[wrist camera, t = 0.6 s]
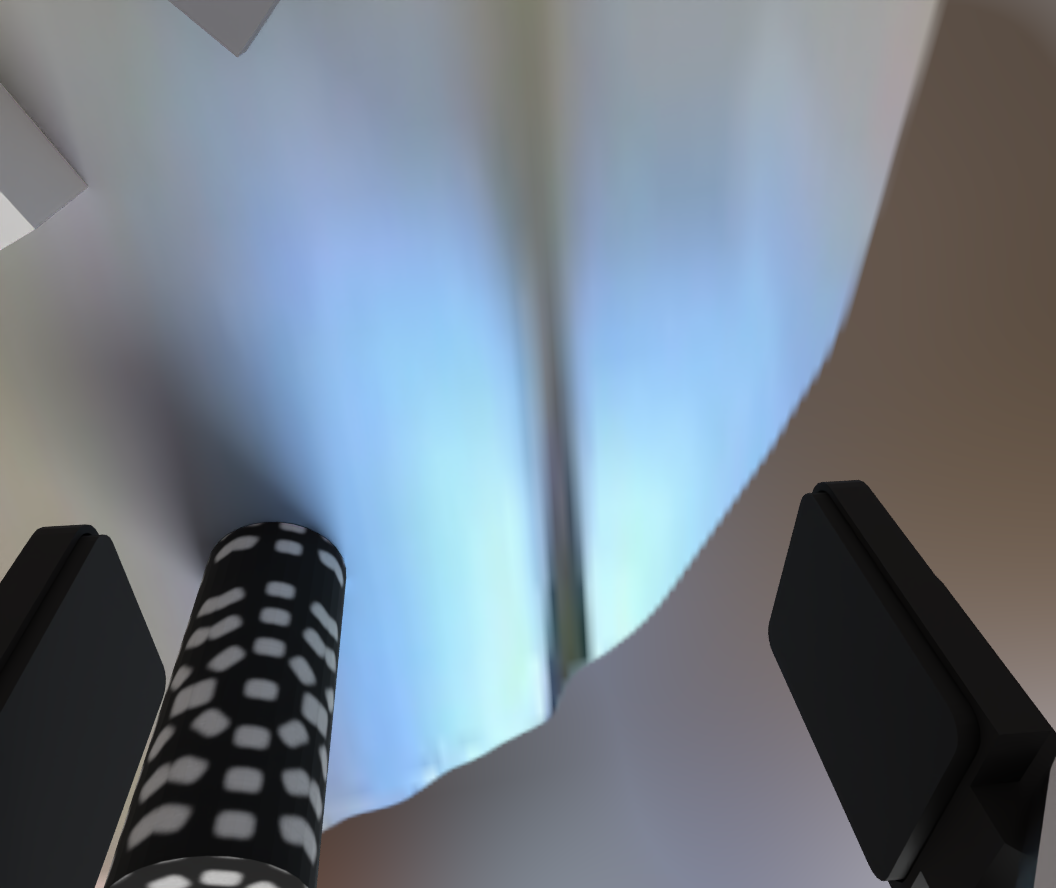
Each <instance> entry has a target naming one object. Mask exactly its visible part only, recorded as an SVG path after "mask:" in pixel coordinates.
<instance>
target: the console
mask: <svg viewBox="0 0 1056 888" xmlns="http://www.w3.org/2000/svg"><path fill="white" fill-rule="evenodd" d="M169 1H170V2H171V3H172V4H173V5H175V6H176V7H177V8H178V9H179V10H181V11H182V12H183V13H184V14H185V15H187V16H188V17H189V18H190V19H192V20H193V21H194V22H195V23H196V24H198V25H199V26H200V27H201V28H202V29H204V30H205V31H206V32H207V33H208V34H210V35H211V36H212V37H213V38H214V39H216V40H217V41H218V42H219V43H221V44H222V45H223V46H224V47H225V48H227V49H228V50H229V51H230V52H231V53H233V54H234V55H235V56H236V57H239V56H240V55H241V54H243V53H244V52H246V51H247V49H248V48H249V46H250V45H251V43H252V42H253V40H254V39H255V37H256V36H257V34H258V33H259V31H260V30H261V28H262V27H263V25H264V24H265V22H266V21H267V19H268V18H269V16H270V15H271V13H272V12H273V10H274V9H275V7H276V5H277V4H278V2H279V1H280V0H169Z"/></svg>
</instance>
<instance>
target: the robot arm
mask: <svg viewBox="0 0 1056 888" xmlns="http://www.w3.org/2000/svg"><path fill="white" fill-rule="evenodd" d="M768 635H769V642H770V646H771V649H772V651H773V654H774V656H775V658H776V661H777V663H778V665H779V667H780V669H781V672H782V674H783V676H784V678H785V680H786V683H787V685H788V687H789V689H790V692H791V694H792V696H793V698H794V700H795V703H796V705H797V707H798V709H799V711H800V714H801V716H802V718H803V720H804V723H805V725H806V727H807V729H808V731H809V733H810V736H811V738H812V740H813V742H814V745H815V747H816V749H817V751H818V753H819V756H820V758H821V760H822V762H823V765H824V767H825V769H826V771H827V773H828V776H829V778H830V780H831V782H832V784H833V787H834V789H835V791H836V793H837V795H838V798H839V800H840V802H841V804H842V807H843V809H844V811H845V813H846V815H847V818H848V820H849V822H850V824H851V827H852V829H853V831H854V833H855V835H856V838H857V840H858V842H859V844H860V846H861V849H862V851H863V853H864V855H865V857H866V860H867V862H868V864H869V866H870V868H871V870H872V872H873V873H874V874H875V876H876V877H877V878H878V879H880V880H881V881H888V882H889V884H890V886H891V888H1056V732H1055V731H1054V729H1053V728H1052V727H1051V725H1050V724H1049V723H1048V722H1047V720H1046V719H1045V718H1044V716H1043V715H1042V714H1041V712H1040V711H1039V710H1038V708H1037V707H1036V706H1035V704H1034V703H1033V702H1032V700H1031V699H1030V698H1029V696H1028V695H1027V694H1026V693H1025V691H1024V690H1023V689H1022V687H1021V686H1020V684H1019V683H1018V682H1017V680H1016V679H1015V678H1014V677H1013V675H1012V674H1011V673H1010V671H1009V670H1008V669H1007V667H1006V666H1005V665H1004V663H1003V662H1002V661H1001V659H1000V658H999V657H998V656H997V654H996V653H995V651H994V650H993V649H992V648H991V646H990V645H989V643H988V642H987V641H986V639H985V638H984V637H983V635H982V634H981V633H980V632H979V630H978V629H977V628H976V626H975V625H974V624H973V622H972V621H971V620H970V618H969V617H968V616H967V614H966V613H965V612H964V610H963V609H962V608H961V606H960V605H959V604H958V602H957V601H956V600H955V598H954V597H953V596H952V594H951V593H950V592H949V590H948V589H947V588H946V587H945V585H944V584H943V583H942V582H941V581H940V580H939V579H938V578H937V577H936V576H935V574H934V573H933V572H932V570H931V569H930V568H929V566H928V565H927V564H926V562H925V561H924V560H923V558H922V557H921V556H920V554H919V553H918V552H917V550H916V549H915V548H914V546H913V545H912V544H911V542H910V541H909V540H908V538H907V537H906V536H905V535H904V533H903V532H902V530H901V529H900V528H899V527H898V525H897V524H896V522H895V521H894V520H893V518H891V516H890V515H889V513H888V512H887V511H886V509H885V508H884V507H883V505H882V504H881V503H880V501H879V500H878V499H877V497H876V496H875V495H874V493H873V492H872V491H871V489H870V488H869V487H868V486H867V485H866V484H865V483H864V482H862V481H860V480H851V481H834V482H821V483H818V484H817V485H816V486H815V487H814V489H813V492H812V493H807V494H805V495H804V496H803V497H802V500H801V503H800V506H799V510H798V514H797V518H796V522H795V526H794V530H793V533H792V537H791V541H790V546H789V549H788V553H787V557H786V560H785V564H784V568H783V572H782V575H781V579H780V584H779V587H778V591H777V595H776V598H775V603H774V606H773V610H772V614H771V618H770V621H769V627H768ZM165 685H166V676H165V670H164V666H163V664H162V661H161V659H160V656H159V654H158V652H157V649H156V647H155V644H154V642H153V639H152V637H151V635H150V632H149V630H148V627H147V625H146V622H145V620H144V617H143V615H142V613H141V610H140V608H139V605H138V603H137V600H136V598H135V596H134V593H133V591H132V588H131V586H130V583H129V581H128V578H127V576H126V574H125V571H124V569H123V566H122V564H121V561H120V559H119V556H118V554H117V552H116V549H115V547H114V544H113V542H112V540H111V539H110V537H108V536H107V535H99V534H98V532H97V531H96V529H95V528H94V527H92V526H91V525H69V526H51V527H42V528H40V529H37V530H36V531H35V533H34V534H33V535H32V536H31V538H30V539H29V541H28V542H27V544H26V545H25V547H24V548H23V550H22V551H21V553H20V554H19V556H18V557H17V559H16V560H15V562H14V563H13V565H12V566H11V568H10V569H9V571H8V572H7V574H6V575H5V577H4V578H3V580H2V581H1V583H0V888H95V885H96V882H97V880H98V877H99V874H100V871H101V868H102V866H103V863H104V860H105V857H106V855H107V852H108V849H109V846H110V843H111V841H112V838H113V835H114V832H115V829H116V827H117V824H118V821H119V818H120V816H121V813H122V810H123V807H124V804H125V802H126V799H127V796H128V793H129V790H130V788H131V785H132V782H133V779H134V777H135V774H136V771H137V768H138V765H139V763H140V760H141V757H142V754H143V752H144V749H145V746H146V743H147V740H148V738H149V735H150V732H151V729H152V726H153V724H154V721H155V718H156V715H157V713H158V710H159V707H160V704H161V701H162V699H163V695H164V692H165Z"/></svg>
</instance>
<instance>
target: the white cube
mask: <svg viewBox="0 0 1056 888" xmlns="http://www.w3.org/2000/svg"><path fill="white" fill-rule="evenodd" d="M87 188H88V186H87V184H86V183H85V182H84V181H83V180H82V179H81V177H80V176H79V175H78V174H77V173H76V171H75V170H74V169H73V168H72V167H71V166H70V164H69V163H68V162H67V161H66V160H65V158H64V157H63V156H62V155H61V154H60V153H59V151H58V150H57V149H56V148H55V147H54V145H53V144H52V143H51V142H50V141H49V139H48V138H47V137H46V136H45V135H44V134H43V132H42V131H41V130H40V129H39V128H38V126H37V125H36V124H35V123H34V122H33V121H32V119H31V118H30V117H29V116H28V115H27V113H26V112H25V111H24V110H23V109H22V108H21V106H20V105H19V104H18V103H17V102H16V100H15V99H14V98H13V97H12V96H11V95H10V93H9V92H8V91H7V90H6V89H5V87H4V86H3V85H2V84H1V83H0V250H2V249H3V248H5V247H7V246H8V245H10V244H12V243H13V242H15V241H16V240H18V239H20V238H21V237H23V236H25V235H26V234H28V233H30V232H31V231H33V230H35V229H36V228H37V227H39V226H40V225H41V224H42V223H44V222H45V221H46V220H47V219H49V218H50V217H51V216H53V215H54V214H55V213H56V212H58V211H59V210H60V209H61V208H63V207H64V206H65V205H67V204H68V203H69V202H70V201H72V200H73V199H74V198H75V197H77V196H78V195H79V194H80V193H82V192H83V191H84V190H86V189H87Z"/></svg>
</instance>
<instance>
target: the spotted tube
mask: <svg viewBox="0 0 1056 888" xmlns="http://www.w3.org/2000/svg"><path fill="white" fill-rule="evenodd" d="M345 584H346V567H345V564H344V561H343V558H342V557H341V555H340V553H339V552H338V550H337V549H336V548H335V547H334V546H333V545H332V544H331V543H330V541H328V540H327V539H325V538H324V537H323V536H321V535H320V534H318V533H316V532H314V531H312V530H310V529H308V528H304V527H301V526H298V525H294V524H288V523H281V522H265V523H258V524H252V525H249V526H246V527H243V528H240V529H237V530H236V531H234V532H232V533H230V534H228V535H227V536H226V537H224V538H223V539H222V540H221V541H220V542H218V544H217V545H216V546H215V548H214V549H213V550H212V552H211V555H210V557H209V560H208V563H207V566H206V569H205V572H204V575H203V578H202V582H201V585H200V588H199V591H198V594H197V597H196V600H195V604H194V607H193V610H192V613H191V616H190V619H189V622H188V626H187V629H186V632H185V635H184V638H183V641H182V644H181V647H180V651H179V654H178V657H177V660H176V663H175V666H174V669H173V673H172V676H171V679H170V682H169V685H168V688H167V691H166V695H165V698H164V701H163V704H162V707H161V710H160V713H159V716H158V720H157V723H156V726H155V729H154V732H153V735H152V738H151V742H150V745H149V748H148V751H147V754H146V757H145V760H144V764H143V767H142V770H141V773H140V776H139V779H138V782H137V785H136V789H135V792H134V795H133V798H132V801H131V804H130V807H129V811H128V814H127V817H126V820H125V823H124V826H123V829H122V833H121V836H120V839H119V842H118V845H117V848H116V851H115V854H114V858H113V861H112V864H111V867H110V870H109V873H108V876H107V880H106V883H105V886H104V888H316V887H317V877H318V866H319V856H320V845H321V835H322V824H323V814H324V804H325V793H326V783H327V772H328V762H329V751H330V741H331V730H332V720H333V710H334V699H335V689H336V678H337V668H338V657H339V647H340V636H341V626H342V616H343V605H344V595H345Z"/></svg>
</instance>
